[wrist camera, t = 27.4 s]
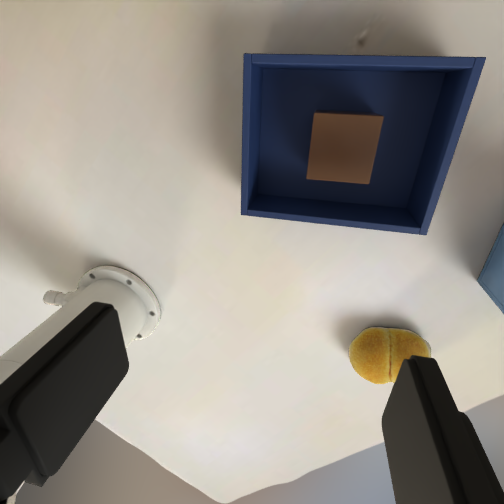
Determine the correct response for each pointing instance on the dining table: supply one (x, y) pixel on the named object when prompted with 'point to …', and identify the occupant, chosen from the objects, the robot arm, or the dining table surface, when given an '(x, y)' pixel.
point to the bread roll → (384, 352)
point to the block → (343, 145)
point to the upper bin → (494, 272)
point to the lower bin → (358, 100)
